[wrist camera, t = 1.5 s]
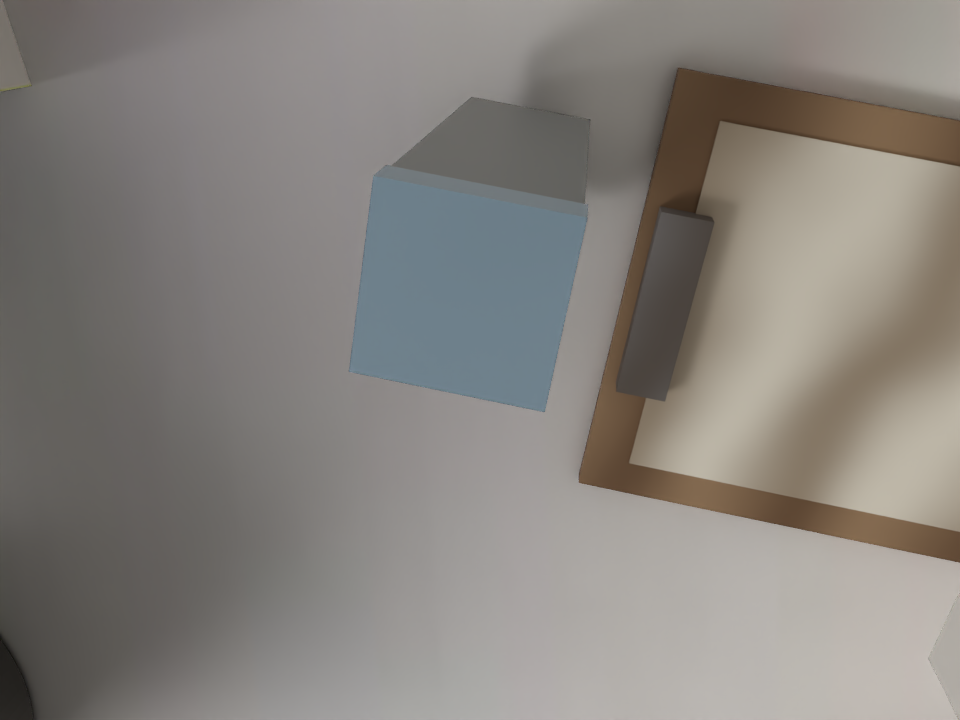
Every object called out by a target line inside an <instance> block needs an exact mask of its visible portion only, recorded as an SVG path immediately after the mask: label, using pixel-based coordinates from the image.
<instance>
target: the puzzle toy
mask: <svg viewBox="0 0 960 720" xmlns="http://www.w3.org/2000/svg"><path fill="white" fill-rule="evenodd" d="M28 86H31V83H30V80H29V77H28V74H27V71H26V68H25V65H24V62H23V59H22V56H21V53H20V50H19V47H18V44H17V41H16V38H15V36H14V33H13V30H12V27H11V24H10V21H9V18H8V15H7V12H6V9H5V6H4V3H3V0H0V92H3V91H8V90H13V89H18V88H23V87H28Z"/></svg>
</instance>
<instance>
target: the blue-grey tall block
mask: <svg viewBox="0 0 960 720" xmlns="http://www.w3.org/2000/svg"><path fill="white" fill-rule="evenodd" d="M589 129H590V120H589V119H584V118H579V117H574V116H568V115H563V114H558V113H553V112H547V111H542V110H537V109H532V108H527V107H521V106H516V105H511V104H506V103H500V102H495V101H490V100H485V99H479V98H474V97H471V98H470V99H469V100H468V101H466V102H465V103H464V104H463V105H462V106H461V107H459V108H458V109H457V110H456V111H455V112H454V113H452V114H451V115H450V116H449V117H448V118H447V119H445V120H444V121H443V122H442V123H441V124H440V125H438V126H437V127H436V128H435V129H434V130H433V131H432V132H430V133H429V134H428V135H427V136H426V137H425V138H423V139H422V140H421V141H420V142H419V143H418V144H416V145H415V146H414V147H413V148H412V149H411V150H409V151H408V152H407V153H406V154H405V155H404V156H402V157H401V158H400V159H399V160H398V161H397V162H395V163H394V164H393V165H392V166H389V165H386V166H384V167H383V168H382V169H381V170H380V171H378V172H377V173H376V174H375V175H374V176H373V183H372V191H371V199H370V207H369V215H368V223H367V231H366V239H365V247H364V255H363V263H362V271H361V280H360V288H359V296H358V304H357V312H356V320H355V328H354V336H353V344H352V352H351V360H350V368H349V372H353V373H357V374H362V375H367V376H372V377H377V378H382V379H387V380H391V381H396V382H401V383H406V384H411V385H416V386H420V387H425V388H430V389H435V390H440V391H445V392H450V393H454V394H459V395H464V396H469V397H474V398H479V399H483V400H488V401H493V402H498V403H503V404H508V405H513V406H517V407H522V408H527V409H532V410H537V411H542V412H545V408H546V404H547V399H548V395H549V390H550V385H551V381H552V376H553V372H554V367H555V363H556V358H557V354H558V349H559V345H560V340H561V336H562V331H563V326H564V322H565V317H566V313H567V308H568V304H569V299H570V295H571V290H572V286H573V281H574V276H575V272H576V267H577V263H578V258H579V254H580V249H581V245H582V240H583V236H584V231H585V226H586V222H587V216H588V204H585V193H586V177H587V161H588V145H589Z"/></svg>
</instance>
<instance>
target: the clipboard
mask: <svg viewBox="0 0 960 720" xmlns="http://www.w3.org/2000/svg"><path fill="white" fill-rule="evenodd" d="M579 483H582V484H587V485H592V486H597V487H601V488H606V489H611V490H616V491H621V492H625V493H630V494H635V495H640V496H644V497H649V498H654V499H659V500H664V501H668V502H673V503H678V504H683V505H687V506H692V507H697V508H702V509H707V510H711V511H716V512H721V513H726V514H731V515H735V516H740V517H745V518H750V519H754V520H759V521H764V522H769V523H774V524H778V525H783V526H788V527H793V528H797V529H802V530H807V531H812V532H817V533H821V534H826V535H831V536H836V537H840V538H845V539H850V540H855V541H860V542H864V543H869V544H874V545H879V546H883V547H888V548H893V549H898V550H903V551H907V552H912V553H917V554H922V555H926V556H931V557H936V558H941V559H946V560H950V561H955V562H960V121H959V120H954V119H949V118H943V117H938V116H933V115H927V114H922V113H917V112H911V111H906V110H901V109H895V108H890V107H885V106H879V105H874V104H869V103H863V102H858V101H853V100H847V99H842V98H837V97H831V96H826V95H821V94H816V93H810V92H805V91H800V90H794V89H789V88H784V87H778V86H773V85H768V84H762V83H757V82H752V81H746V80H741V79H736V78H730V77H725V76H720V75H714V74H709V73H704V72H698V71H693V70H688V69H682V68H678V70H677V74H676V78H675V82H674V87H673V91H672V95H671V99H670V103H669V107H668V111H667V115H666V119H665V123H664V128H663V132H662V136H661V140H660V144H659V148H658V152H657V156H656V160H655V164H654V169H653V173H652V177H651V181H650V185H649V189H648V193H647V197H646V201H645V206H644V210H643V214H642V218H641V222H640V226H639V230H638V234H637V238H636V242H635V247H634V251H633V255H632V259H631V263H630V267H629V271H628V275H627V279H626V283H625V288H624V292H623V296H622V300H621V304H620V308H619V312H618V316H617V320H616V325H615V329H614V333H613V337H612V341H611V345H610V349H609V353H608V357H607V361H606V366H605V370H604V374H603V378H602V382H601V386H600V390H599V394H598V398H597V402H596V407H595V411H594V415H593V419H592V423H591V427H590V431H589V435H588V439H587V444H586V448H585V452H584V456H583V460H582V464H581V468H580V472H579Z"/></svg>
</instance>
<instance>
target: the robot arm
mask: <svg viewBox="0 0 960 720" xmlns="http://www.w3.org/2000/svg"><path fill="white" fill-rule="evenodd" d="M928 659H929V661H930V663H931V665H932V667H933V669H934V671H935V673H936V675H937V677H938V679H939V681H940V683H941V685H942V687H943V689H944V691H945V693H946V695H947V697H948V699H949V701H950V703H951V705H952V707H953V709H954V711H955V713H956V715H957V717H958V719H959V720H960V592H959V594H958V596H957V598H956V601H955V603H954V605H953V607H952V609H951V611H950V613H949V615H948V618H947V620H946V622H945V624H944V626H943V628H942V630H941V632H940V635H939V637H938V639H937V641H936V643H935V645H934V647H933V649H932V651H931V654H930V656H929V658H928ZM0 720H33V713H32V706H31V702H30V698H29V694H28V691H27V688H26V685H25V683H24V680H23V678H22V675H21V673H20V671H19V669H18V667H17V665H16V663H15V662H14V660H13V658H12V657H11V655H10V653H9V652H8V650H7V649H6V647H5V646H4V644H3V643H2V641H1V640H0Z"/></svg>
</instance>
